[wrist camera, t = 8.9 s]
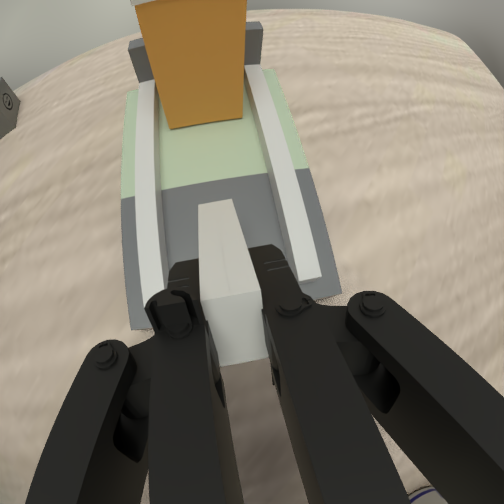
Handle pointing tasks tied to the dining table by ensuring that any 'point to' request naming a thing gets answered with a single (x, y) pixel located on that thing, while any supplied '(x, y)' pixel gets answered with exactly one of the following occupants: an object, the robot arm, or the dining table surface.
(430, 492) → the energy drink
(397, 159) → the dining table surface
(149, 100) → the grey rail tray
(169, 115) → the block
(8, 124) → the dice cube
